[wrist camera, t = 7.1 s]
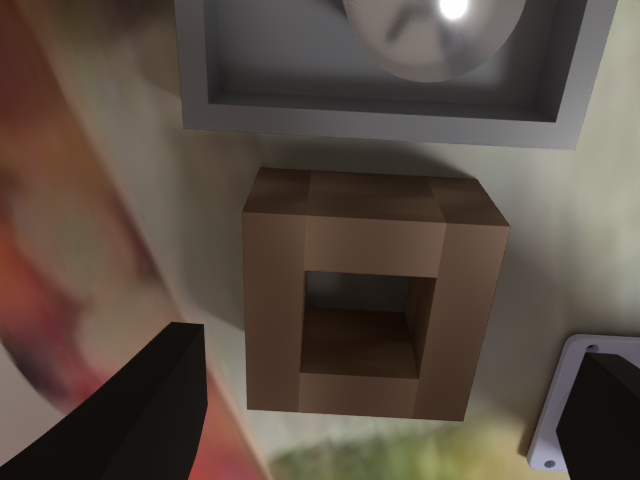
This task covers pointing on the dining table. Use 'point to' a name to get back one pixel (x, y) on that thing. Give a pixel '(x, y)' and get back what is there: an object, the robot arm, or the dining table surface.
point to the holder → (368, 258)
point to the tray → (384, 76)
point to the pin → (431, 34)
